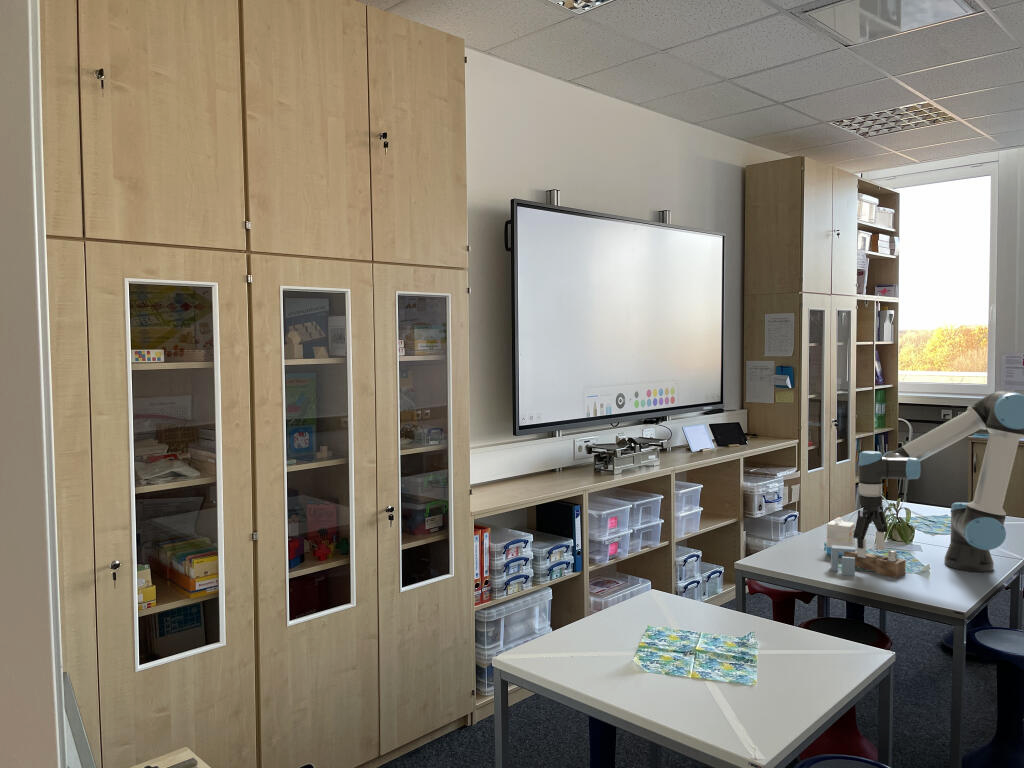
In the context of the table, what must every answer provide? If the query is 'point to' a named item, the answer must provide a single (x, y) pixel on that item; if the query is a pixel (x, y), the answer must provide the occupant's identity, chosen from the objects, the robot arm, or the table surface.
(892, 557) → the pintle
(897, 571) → the link
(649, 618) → the table surface
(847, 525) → the ink box
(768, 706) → the table surface
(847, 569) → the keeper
